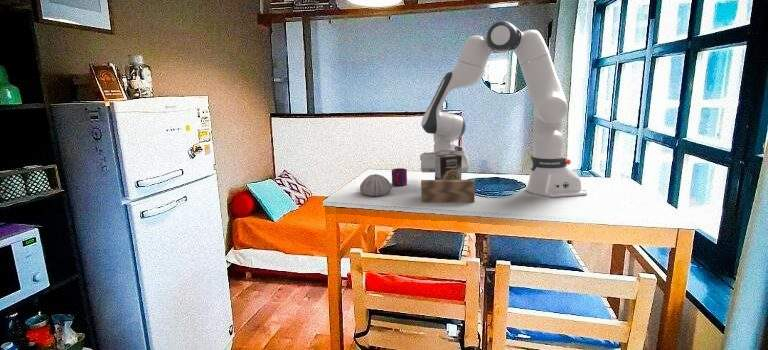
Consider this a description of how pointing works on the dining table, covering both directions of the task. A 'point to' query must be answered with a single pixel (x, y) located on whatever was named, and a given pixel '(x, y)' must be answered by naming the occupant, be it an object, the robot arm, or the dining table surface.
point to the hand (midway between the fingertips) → (445, 180)
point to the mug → (399, 177)
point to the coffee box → (448, 167)
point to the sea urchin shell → (375, 185)
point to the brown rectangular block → (447, 190)
